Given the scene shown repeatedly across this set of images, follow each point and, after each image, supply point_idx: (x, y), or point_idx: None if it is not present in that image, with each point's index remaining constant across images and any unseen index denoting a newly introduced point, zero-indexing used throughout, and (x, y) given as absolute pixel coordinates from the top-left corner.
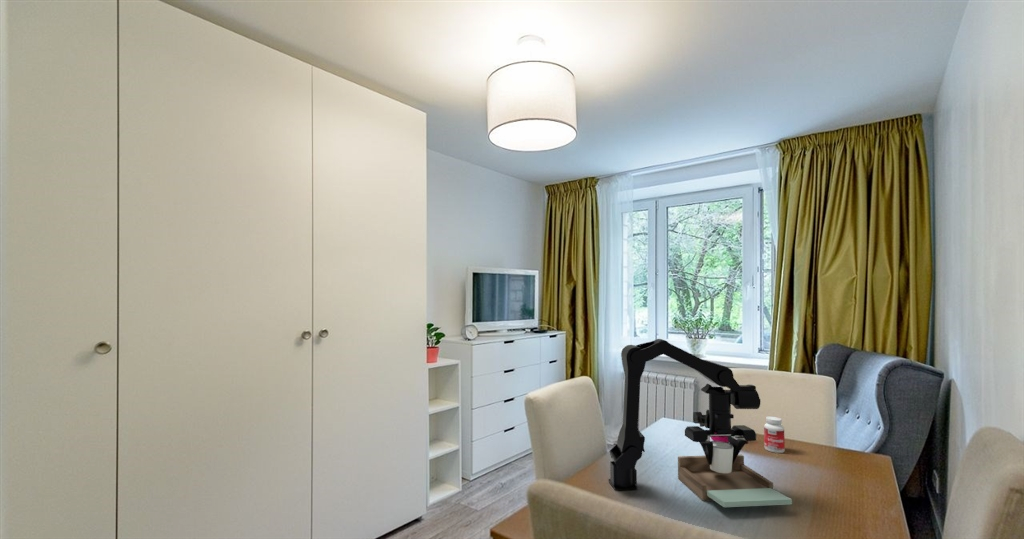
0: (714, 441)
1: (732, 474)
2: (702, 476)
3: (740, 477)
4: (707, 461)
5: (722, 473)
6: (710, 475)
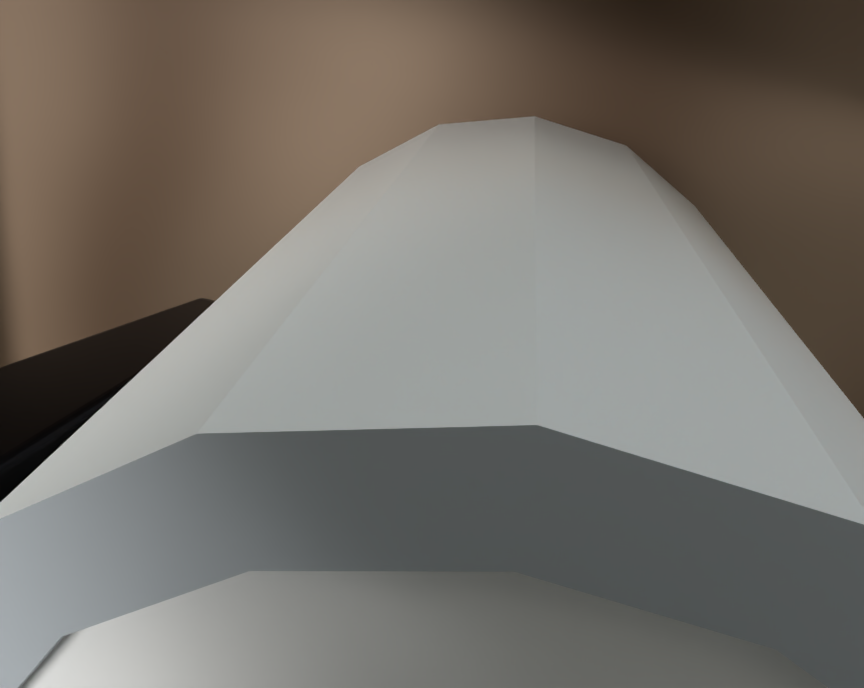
0: (548, 565)
1: (848, 223)
2: (204, 127)
3: (853, 366)
4: (171, 313)
5: (700, 122)
6: (383, 135)
